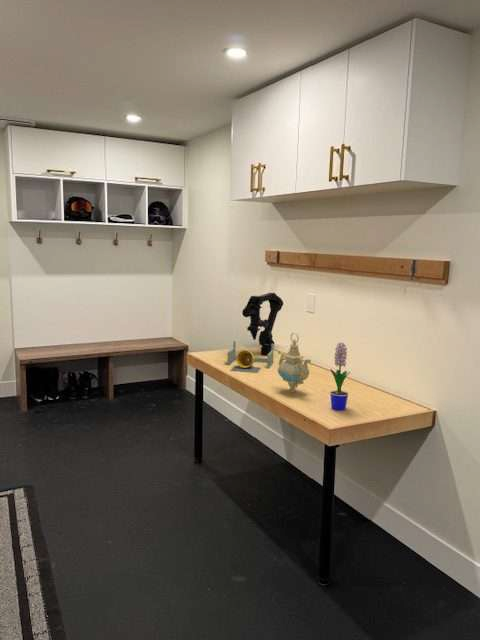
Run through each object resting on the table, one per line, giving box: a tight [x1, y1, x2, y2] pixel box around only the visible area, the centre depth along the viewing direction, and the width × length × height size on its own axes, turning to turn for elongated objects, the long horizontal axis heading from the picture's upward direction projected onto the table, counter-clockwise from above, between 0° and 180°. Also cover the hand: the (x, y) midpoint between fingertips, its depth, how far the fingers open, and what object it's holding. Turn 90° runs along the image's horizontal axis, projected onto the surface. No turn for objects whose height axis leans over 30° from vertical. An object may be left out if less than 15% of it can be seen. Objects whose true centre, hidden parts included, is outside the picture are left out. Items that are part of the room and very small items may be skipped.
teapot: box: [277, 332, 312, 393], centre depth 244 cm, size 24×12×30 cm, turn 32°
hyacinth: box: [329, 342, 351, 411], centre depth 220 cm, size 9×10×30 cm
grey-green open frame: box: [227, 340, 275, 369], centre depth 302 cm, size 15×25×12 cm, turn 77°
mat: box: [230, 365, 262, 374], centre depth 289 cm, size 12×16×1 cm
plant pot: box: [235, 349, 255, 368], centre depth 294 cm, size 10×10×10 cm
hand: (254, 339), depth 317 cm, fingers closed
